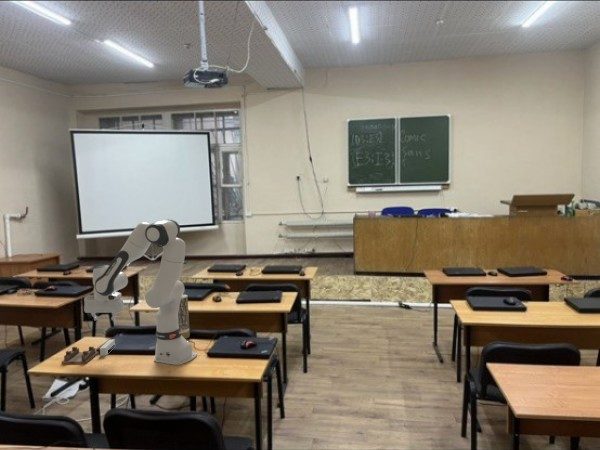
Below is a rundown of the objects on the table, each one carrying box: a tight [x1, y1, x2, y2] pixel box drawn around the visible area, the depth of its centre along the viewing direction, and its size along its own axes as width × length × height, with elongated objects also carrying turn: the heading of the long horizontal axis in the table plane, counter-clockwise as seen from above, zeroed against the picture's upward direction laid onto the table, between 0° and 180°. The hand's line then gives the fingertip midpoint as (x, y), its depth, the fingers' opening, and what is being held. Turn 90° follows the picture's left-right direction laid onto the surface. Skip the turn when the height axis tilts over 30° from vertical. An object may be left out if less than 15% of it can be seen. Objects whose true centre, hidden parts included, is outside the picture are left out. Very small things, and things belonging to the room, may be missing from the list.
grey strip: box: [99, 338, 116, 357], centre depth 222 cm, size 12×3×4 cm, turn 3°
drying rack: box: [61, 346, 100, 365], centre depth 213 cm, size 13×12×5 cm
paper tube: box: [178, 294, 191, 340], centre depth 238 cm, size 7×7×25 cm
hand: (104, 320), depth 220 cm, fingers open, 8 cm apart
